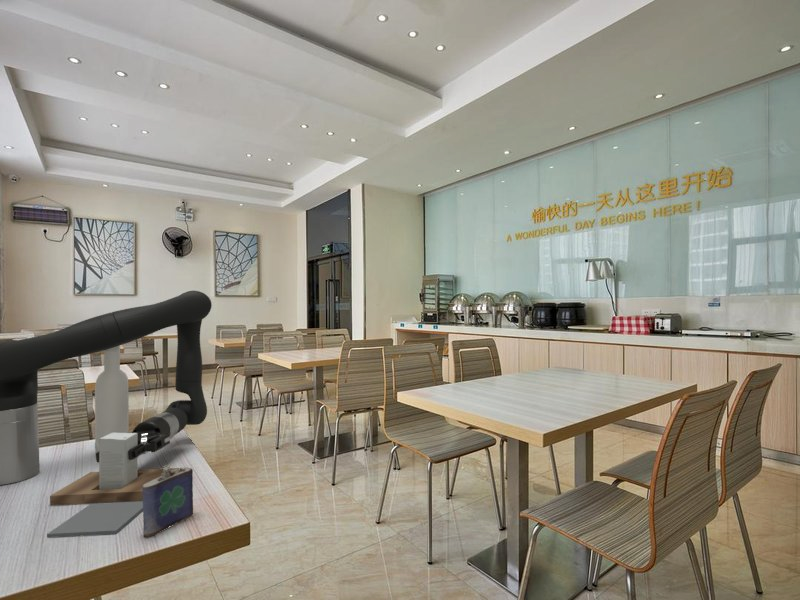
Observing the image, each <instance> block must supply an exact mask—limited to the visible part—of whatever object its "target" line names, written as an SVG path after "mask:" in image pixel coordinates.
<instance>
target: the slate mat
mask: <svg viewBox="0 0 800 600" xmlns="http://www.w3.org/2000/svg"><path fill="white" fill-rule="evenodd" d="M141 513H143V501H131V502H111V503H90V504H88V505H87V506H86V507H84V508H83V509H81V510H80V511H78V512H77V513H76V514H74V515H73V516H71V517H69V518H68V519H67V520H66V521H63V522H62V523H61V524H60V525H58V526H57V527H55V528H54V529H52V530H51V531H49V532H48V533H47V534H46V537H47V538H61V537H62V538H63V537H81V536H80V535H83V536H98V535H99V534H103V535H117V534H118V533H120V531H121V530H122V529H123V528H125V527H127V525H129V523H131V522H132V521H133V520H134V519H135V518H137V516H139V515H140V514H141ZM99 536H100V535H99Z"/></svg>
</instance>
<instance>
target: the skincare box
mask: <svg viewBox="0 0 800 600" xmlns="http://www.w3.org/2000/svg"><path fill="white" fill-rule="evenodd" d="M137 445H138V434H137V433H132V432H129V433H110V434H108V435H106V436H104V437H102V438H100V439H99V462H98V463H99V464H98V465H99V466H98V472H99V490H105V489H122V488H123V487H125V486H126V485H128V484H129V483H130V482H132V481H133V480H135V479H136V478H137V470H139V468H138V461H139V460H138V459H139V456H138V457H137V458H135V459H133V460H129V456H128V451H129V450H130V449H132V448H133V447H135V446H137Z"/></svg>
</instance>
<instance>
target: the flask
mask: <svg viewBox="0 0 800 600" xmlns="http://www.w3.org/2000/svg"><path fill="white" fill-rule="evenodd" d="M170 468H171V467H170V465H168V464H166V465H164V466H162V467H160V469H163V473H162V475H163V476H161V477H159V478H156V479H154V480H152V481H150V482H148V483H145V484H144V485H143V486H142V492H143V511H142V513H143V514H142V516H143V517H142V518H143V520H142V522H143V525H142V526H143V531H142V533H143V536H144V535H145V536H144V537H147V536H150V537H152V536H155V535H154V534H156V535H158V534H157V533H159V532H160V531H161V532H163V531H165V530H164V529H166V528H168V527H169V526H172V525H174V526H175V525H176V524H179V523H181V522H182V521H185V520H187V519H189V518H192V517H193V516H194V499H193V498H194V492H193V486H194V484H193V483H194V481H193V478H194V476H193V475H194V474H193V472H194V469H193V468H191V467H177V468H178V469H176V470H174V471H173V470H170ZM172 527H173V526H172ZM168 529H169V528H168ZM162 530H163V531H162ZM166 530H167V529H166ZM161 532H160V533H161ZM160 533H159V534H160Z"/></svg>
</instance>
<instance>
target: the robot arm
mask: <svg viewBox="0 0 800 600" xmlns="http://www.w3.org/2000/svg"><path fill="white" fill-rule="evenodd" d="M212 307H213V306H212V300H211V298H210V296H208V295H207V294H205V293H204V292H202V291H199V290H189V291H186V292H183V293H181V294H180V295H176V296H175V297H172V298H169V299H166V300H164V301H160V302H156V303H153V304H146V305H143V306H135V307H134V306H133V307H130V308H125V309H120V310H114V311H112V312H107V313H103V314H101V315H96V316H94V317H91V318H87V319H85V320H84V319H83V320H82V321H79V322H76V323H74V324H71V325H68V326H65V327H64V328H61V329H59V330H57V331H53V332H49V333H45V334H42V335H38V336H33V337H32V336H31V337H28V338H22V339H9V340H4V341H1V342H0V485H1V486H2V485H8V484H9V485H10V484H14V483H17V482H22V481H25V480H27V479H30V478H33V477H34V476H36V475H38V474H40V471H41V469H40V467H41V466H40V440H39V439H40V438H39V433H40V432H39V414H38V413H39V411H38V409H39V408H38V392H39V391H38V390H39V386H38V385H39V384H38V383H39V382H38V381H39V380H38V379H39V378H38V375H39V374H38V371H39V370H40V369H42V368H45V367H46V368H47V366H51V365H54V364H56V363H58V362H59V363H60V362H63V361H66V360H68V359H73V358H78V357H83V356H86V355H90V354H95V353H99V352H103V351H104V350H107V349H110V348H113V347H116V346H120V347H121V346H123V345H126V344H129V343H131V342H134V341H136V340H140V339H142V338H144V337H146V336H149V335H151V334H153V333H156V332H158V331H161V330H163V329H167V328H171V327H174V326H176V330H177V332H176V334H177V351H176V363H175V364H176V365H175V382H174V384H175V385H174V386H175V390H176V392H178V393H180V394H185V395H188V397H189V399H190V400H189V399H185V400H184V399H182V400H175V401H172V402H170V404H169V405H168V406H167V407H166V409H165V410H164V411H162V412H161V413H158V414H155V415H152V416H150V417H149V418H148V419H146V420H143V421H142V422H140V423H138V424H137V425H136V426H135V427H134V428H133V430H132V431H131V433H137V434H138V445H137V446H135V447H133V448H132V449H130V450H129V451H128V456H129V460H133V459H135V458H137V457H138V458H139V456H141V455H146V454H148V452H151V453H155V452H156V453H157V452H158V451H160V450H162V449H163V448H165V447H167V446H168V445H170V444H171V439H172V438H173V437H174V436H176V435H177V434H179V433H180V432H182V431H183V430H184V429H185V428H186V426H188V425H191V426H197V425H201V424H202V423H203V422H204V421H205V420H206V418H207V414H208V406H207V402H206V399H205V394H204V391H203V385H202V384H203V383H202V381H203V357H202V351H201V350H202V348H201V327H202V322H203V320H204V319H205V318H207V316H208V315H209V314H210V312H211V309H212ZM95 460H96V462H97V463H99V452H97V453H95Z"/></svg>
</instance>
